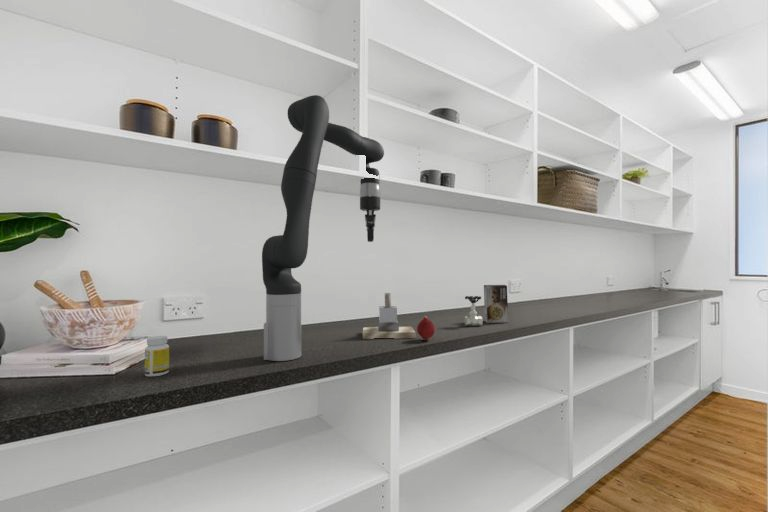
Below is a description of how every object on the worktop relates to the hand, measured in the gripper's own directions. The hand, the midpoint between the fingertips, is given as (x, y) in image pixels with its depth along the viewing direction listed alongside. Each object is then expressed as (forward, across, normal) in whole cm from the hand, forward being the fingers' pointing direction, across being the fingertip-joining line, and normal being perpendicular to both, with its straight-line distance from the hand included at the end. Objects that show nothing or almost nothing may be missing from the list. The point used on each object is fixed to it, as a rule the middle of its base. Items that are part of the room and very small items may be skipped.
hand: (370, 240), depth 130 cm
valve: (+34, -14, +42) cm, 56 cm away
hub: (+29, +3, +6) cm, 30 cm away
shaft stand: (+34, +3, +6) cm, 35 cm away
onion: (+34, +13, +18) cm, 41 cm away
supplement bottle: (+34, +45, -50) cm, 76 cm away
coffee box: (+34, -24, +55) cm, 69 cm away
